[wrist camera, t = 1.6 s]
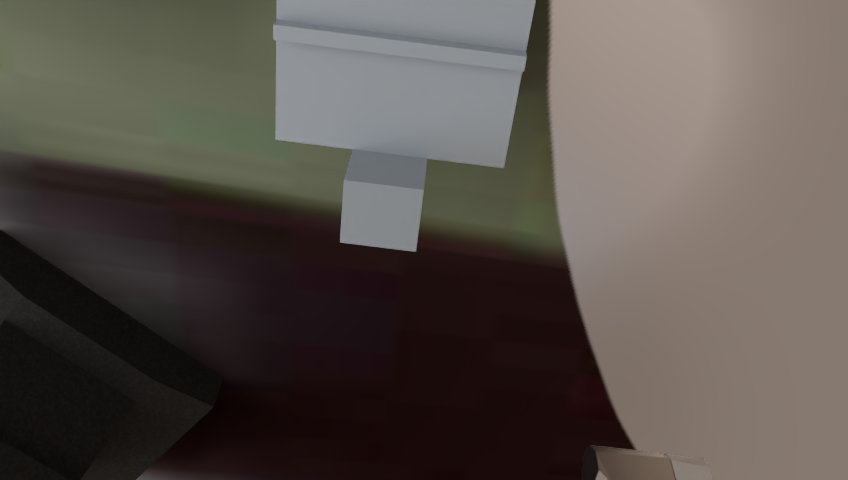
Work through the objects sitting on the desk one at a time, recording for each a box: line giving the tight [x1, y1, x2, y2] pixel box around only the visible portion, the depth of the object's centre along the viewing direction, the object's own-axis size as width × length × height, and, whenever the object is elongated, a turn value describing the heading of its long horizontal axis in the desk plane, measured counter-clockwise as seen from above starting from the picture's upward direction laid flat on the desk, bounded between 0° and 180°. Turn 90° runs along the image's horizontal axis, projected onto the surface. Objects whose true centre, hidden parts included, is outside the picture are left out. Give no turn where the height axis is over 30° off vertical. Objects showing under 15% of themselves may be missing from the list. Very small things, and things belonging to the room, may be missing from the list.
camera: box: [0, 230, 223, 480], centre depth 45 cm, size 16×14×15 cm
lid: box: [273, 0, 536, 252], centre depth 30 cm, size 18×10×4 cm, turn 174°
